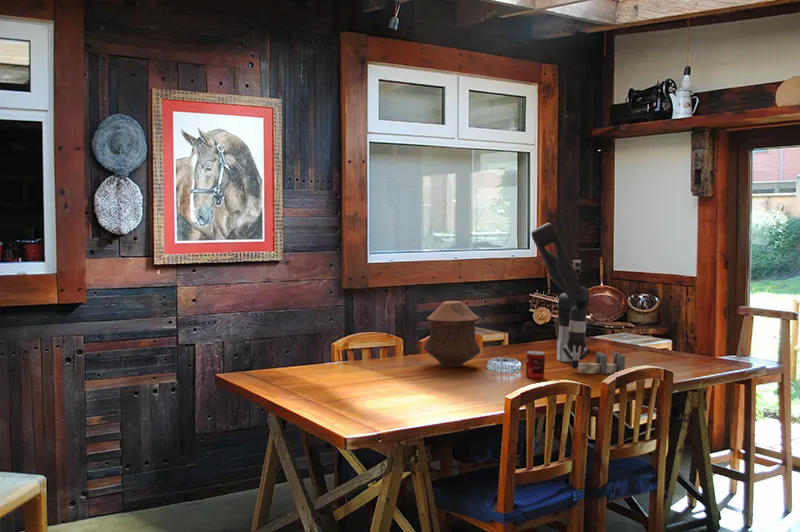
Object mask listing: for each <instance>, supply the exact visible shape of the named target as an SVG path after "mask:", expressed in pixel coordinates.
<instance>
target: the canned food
mask: <svg viewBox="0 0 800 532" xmlns="http://www.w3.org/2000/svg"><path fill="white" fill-rule="evenodd" d="M525 359H526V360H525V362H526V364H525V376H526V378H527V379H530V380H531V379H532V380H543V379H544V377H545V368H546V367H545V365H546V364H545V363H546V361H545V360H546V353H545V352H544V351H539V350H528V351H526V358H525Z"/></svg>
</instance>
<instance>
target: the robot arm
mask: <svg viewBox="0 0 800 532" xmlns="http://www.w3.org/2000/svg"><path fill="white" fill-rule="evenodd" d="M531 238H532V240H533V242H534V244H535V246H536V248H537V250H538V252H539V254H540V256H541V258H542V261H543V262H544V266H545V268H546V270H547V273H548V275H549V278H550V279H551V281H552V282H553V283H554V284H555V285H556V286H557V287H559V289H561V290H562V291H563V292H562V293H560V295H559V296H558V301H557V315H558V316H557V317H558V318H557V319H558V320H559V340H558V339H557V344H556V360H557V361H559V362H565V363H571V365H570V366H571V368H572V369H575V370H577V369H578V365H579V363H580V362H579V361H581V360H584V358H585V357H586V356H587V355H588V354H590V352H591V349H590V348H588V347H587V343H586V334H587V333H586V330H587V310H588V307H589V304H590V303H589V302H590V291H589V289H588V288H587V287H586V286H583V285H582V286H581V284H580V282H579V275H578V273H577V271H576V269H575V268H574V266H573V265H572V263H571V261H570V258H569V256H568V254H567V251H566V248H565V246H564V243H563V242H562V240H561V237H560V235H559V233H558V231H557V229H556V227H555V226H554V225H553V223H551V222H547V223H545V224H543V225H541V226H539V227H537V228H535V229H533V230H532V231H531ZM553 243H554V244H555V245H554V246H555V247H556V254H554V253H552V252H551V251H550V250H548V249H546V247H547V246H549V245H551V244H553Z"/></svg>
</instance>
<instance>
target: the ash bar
mask: <svg viewBox="0 0 800 532" xmlns="http://www.w3.org/2000/svg"><path fill="white" fill-rule="evenodd" d="M577 369H578V371H577V372H578V373H580V374H596V373H600V363H595V362H579V363H578V368H577ZM617 370H618V364H613V363H607V375H613V374H612V373H615V372H617ZM608 373H610V374H608Z"/></svg>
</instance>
